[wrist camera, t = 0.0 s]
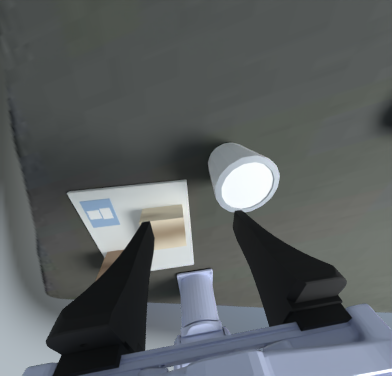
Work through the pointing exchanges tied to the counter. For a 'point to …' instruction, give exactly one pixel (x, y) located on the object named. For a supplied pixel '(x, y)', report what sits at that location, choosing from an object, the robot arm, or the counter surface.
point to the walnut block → (108, 261)
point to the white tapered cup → (241, 177)
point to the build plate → (133, 217)
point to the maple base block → (166, 225)
